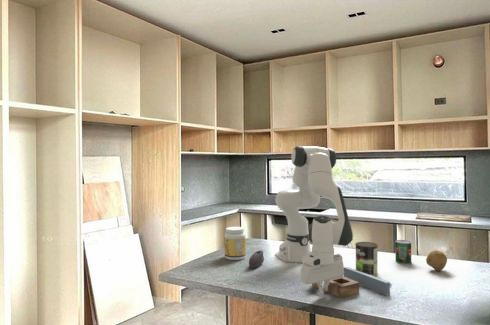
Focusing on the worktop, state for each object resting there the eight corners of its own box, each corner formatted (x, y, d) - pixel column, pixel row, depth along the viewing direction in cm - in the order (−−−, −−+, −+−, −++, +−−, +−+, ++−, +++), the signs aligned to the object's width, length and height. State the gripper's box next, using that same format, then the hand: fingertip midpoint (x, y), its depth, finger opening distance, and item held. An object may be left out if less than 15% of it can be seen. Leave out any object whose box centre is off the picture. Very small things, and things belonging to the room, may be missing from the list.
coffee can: (365, 277, 165) (364, 247, 165) (351, 271, 174) (350, 242, 174) (382, 274, 168) (382, 245, 168) (368, 268, 178) (367, 240, 178)
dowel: (310, 285, 155) (309, 267, 155) (317, 284, 157) (316, 266, 156) (316, 288, 151) (315, 270, 151) (323, 287, 153) (323, 268, 153)
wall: (343, 278, 164) (343, 267, 164) (347, 277, 165) (346, 266, 165) (386, 295, 143) (386, 282, 143) (389, 294, 144) (389, 282, 144)
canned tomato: (414, 264, 185) (414, 243, 185) (399, 264, 185) (398, 243, 185) (407, 259, 193) (407, 239, 193) (393, 259, 193) (392, 239, 193)
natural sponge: (426, 272, 172) (425, 251, 172) (426, 267, 179) (426, 247, 179) (447, 274, 167) (447, 253, 167) (446, 269, 175) (446, 249, 175)
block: (324, 290, 149) (324, 279, 149) (341, 285, 154) (341, 275, 154) (341, 298, 141) (341, 286, 141) (359, 293, 145) (359, 282, 145)
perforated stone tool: (254, 271, 176) (254, 257, 176) (244, 269, 179) (244, 256, 179) (266, 263, 190) (266, 250, 190) (257, 262, 192) (257, 249, 192)
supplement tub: (221, 256, 204) (221, 227, 204) (240, 253, 209) (240, 225, 209) (229, 261, 193) (229, 231, 193) (249, 259, 198) (249, 229, 198)
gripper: (336, 251, 150) (337, 284, 150) (298, 258, 140) (298, 293, 141) (347, 255, 145) (347, 288, 145) (308, 262, 135) (308, 298, 135)
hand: (323, 290), depth 143 cm, fingers closed
